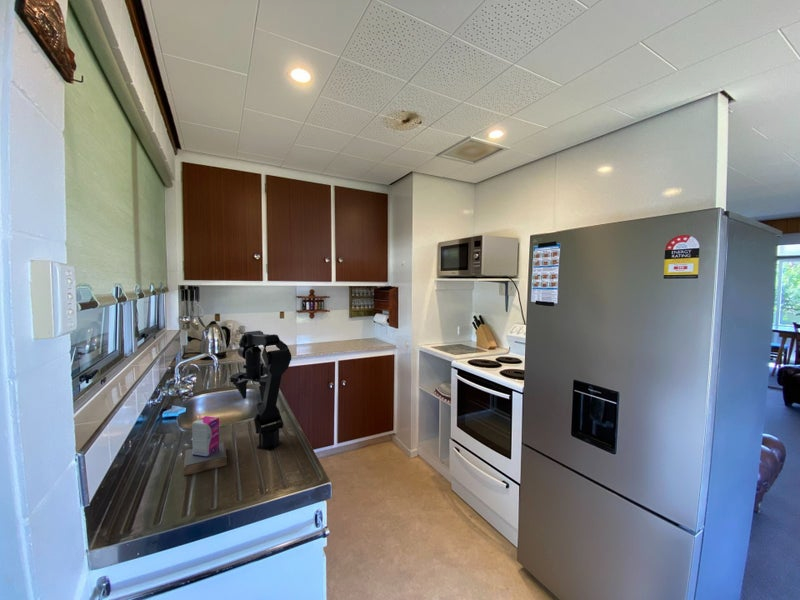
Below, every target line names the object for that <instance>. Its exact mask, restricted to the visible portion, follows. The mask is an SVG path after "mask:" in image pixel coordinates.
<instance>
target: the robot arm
mask: <svg viewBox="0 0 800 600" xmlns="http://www.w3.org/2000/svg"><path fill="white" fill-rule="evenodd" d="M238 346H239V347H238V349H237V354H238V356H239V357H240V358H242V359H244V360H245V361H244V362H245V364H244V365H243V366H242V368H243V369H245V372H242V371H240V372H237V373H233V374H231V376H230V377H229V379H230V383H232V385H234V386H235V388H236V389H237V390H238V391H237V392H239V394H240V395H241V397H242V399H244V400H245V399H247V385H248V382H255V383H259V386H258V389H259V395H260V399H261V402H258V403H257V404H256V409H255V414H254V416H253V423H254V429H255V434H256V435H257V434H258V444H257V445H256V448H257V449H262V450H266V451H273V450H274V449H276V448H277V447H278V446H279V445H281V444H282V443H283V442H282V440H280V429H283V428H284V422H283V419H282V418H283V417H282V415H281V413H280V410H279V407H278V405H277V402H278V399H279V398H278V397H279V392H280V387H281V383H282V382H281V381H282V378H283V374H284V373H285V372H286V371H287V370H288V369H289V367H290V364H291V362H292V352H291V351H290V348H289V346H288V344H286V343H285V342H283V341H282V340H281V339H280V337H279V335H278V334H276V333H275V334H266V333H264V332H263V331H262V330H252V331H244V332H243V334H242V335H241V338H240V340H239V343H238ZM260 346H263V349H261V348H260ZM272 346H273V347H274V346H275V347H276V348H277V350H276V349H275V350H269V351H267V349H266V347H272ZM261 352H262V353H261ZM262 359H263V362H264V363H262ZM264 365H265V366H264Z"/></svg>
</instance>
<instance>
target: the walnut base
mask: <svg viewBox="0 0 800 600" xmlns="http://www.w3.org/2000/svg"><path fill="white" fill-rule="evenodd" d="M192 455H193V448H189V449H186V450H185V451H184V460H183V461H184V462H183V473H184V474H183V476H188V475H192V474H196V473H200V472H204V471H208V470H213V469H216V468H220V467H224V466H227V465H228V456H227V450H226V444H225V442H224V441H222V442H219V450H217V451H216V452H214V453H213V454H211V455H210V456H208V457H207V458H205V457H198V456H192Z"/></svg>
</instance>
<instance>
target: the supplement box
mask: <svg viewBox="0 0 800 600" xmlns="http://www.w3.org/2000/svg"><path fill="white" fill-rule="evenodd" d="M219 443H220V418H219V417H215V416H206V415H205V416H203V417H201V418H198V419H197V420H194V421H193V422H192V449H193V455H192V456H198V457H205V458H207V457H208V456H210V455H211V454H213V453H214V452H216V451H217V450H219Z"/></svg>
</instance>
